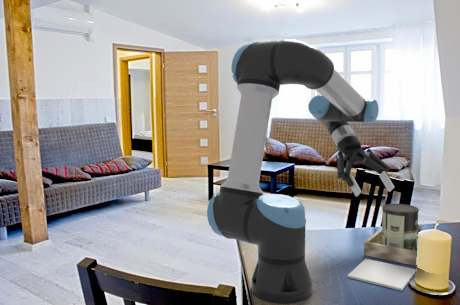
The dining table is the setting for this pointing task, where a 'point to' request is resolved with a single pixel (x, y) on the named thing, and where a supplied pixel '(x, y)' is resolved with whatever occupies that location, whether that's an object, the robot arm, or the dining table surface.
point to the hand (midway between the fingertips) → (375, 191)
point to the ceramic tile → (382, 274)
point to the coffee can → (400, 226)
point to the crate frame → (388, 250)
